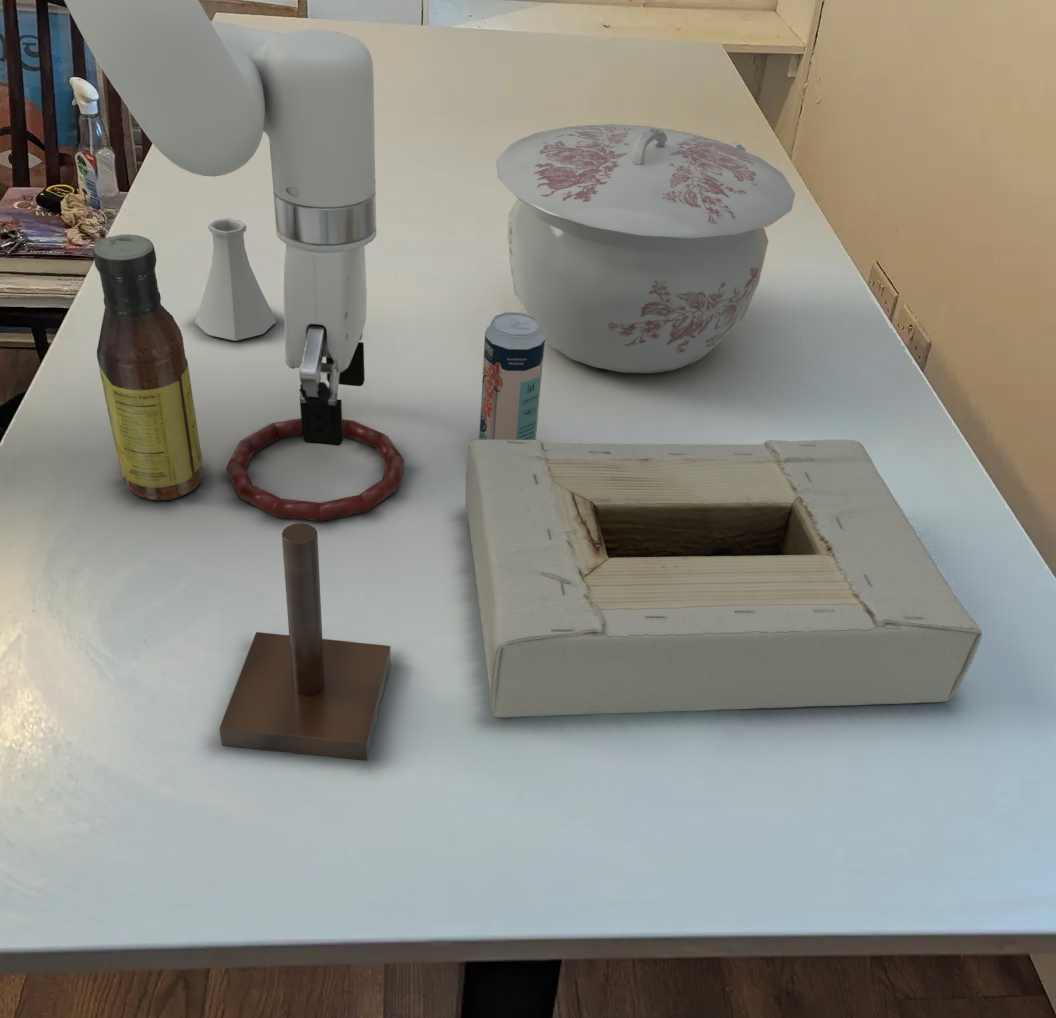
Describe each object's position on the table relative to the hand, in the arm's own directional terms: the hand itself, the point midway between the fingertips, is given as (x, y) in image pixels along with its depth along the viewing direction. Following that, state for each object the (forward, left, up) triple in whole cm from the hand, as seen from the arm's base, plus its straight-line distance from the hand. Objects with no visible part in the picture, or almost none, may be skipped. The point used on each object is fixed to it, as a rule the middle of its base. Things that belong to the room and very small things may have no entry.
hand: (335, 411), depth 100 cm
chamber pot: (+25, +23, -2) cm, 34 cm away
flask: (-13, +18, -2) cm, 22 cm away
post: (+5, -32, -2) cm, 33 cm away
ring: (0, -6, -1) cm, 6 cm away
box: (+30, -18, -2) cm, 35 cm away
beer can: (+15, 0, -2) cm, 15 cm away
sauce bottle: (-12, -10, -2) cm, 16 cm away
